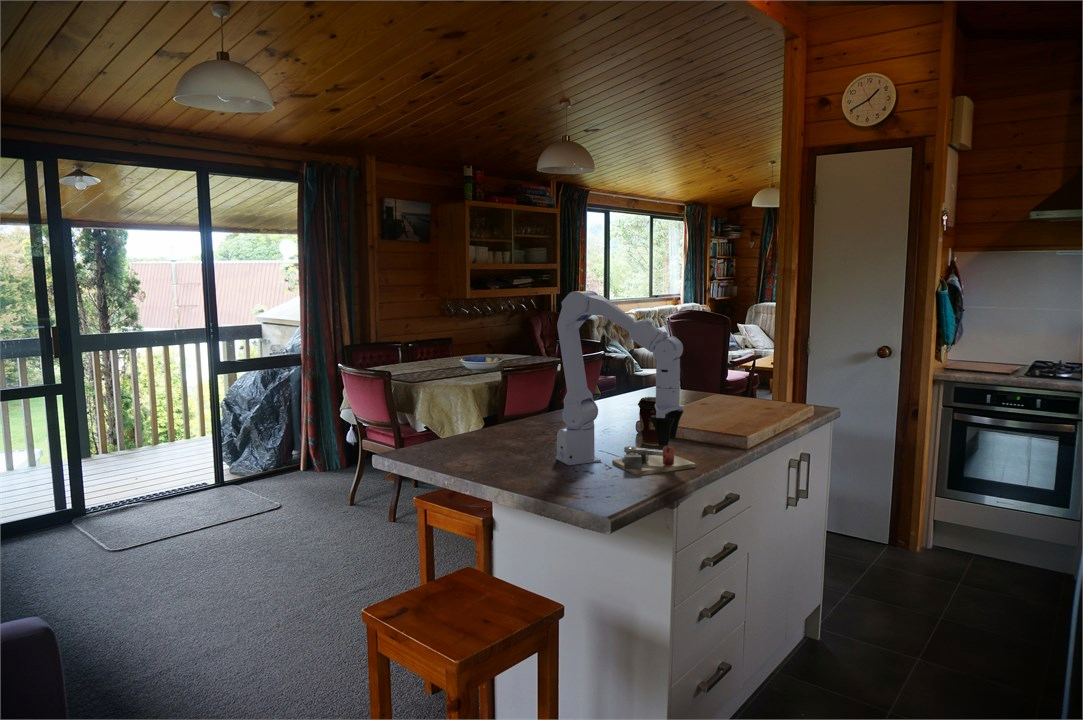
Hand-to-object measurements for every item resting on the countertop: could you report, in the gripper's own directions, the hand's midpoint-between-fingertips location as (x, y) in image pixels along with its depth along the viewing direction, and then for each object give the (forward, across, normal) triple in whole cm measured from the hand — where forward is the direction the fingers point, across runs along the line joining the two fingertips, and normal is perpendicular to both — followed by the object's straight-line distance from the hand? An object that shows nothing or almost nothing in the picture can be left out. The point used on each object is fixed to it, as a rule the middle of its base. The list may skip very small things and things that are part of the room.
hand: (667, 441), depth 172 cm
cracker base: (+7, +3, +5) cm, 9 cm away
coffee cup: (+8, +27, +11) cm, 30 cm away
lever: (+6, +1, +5) cm, 8 cm away
